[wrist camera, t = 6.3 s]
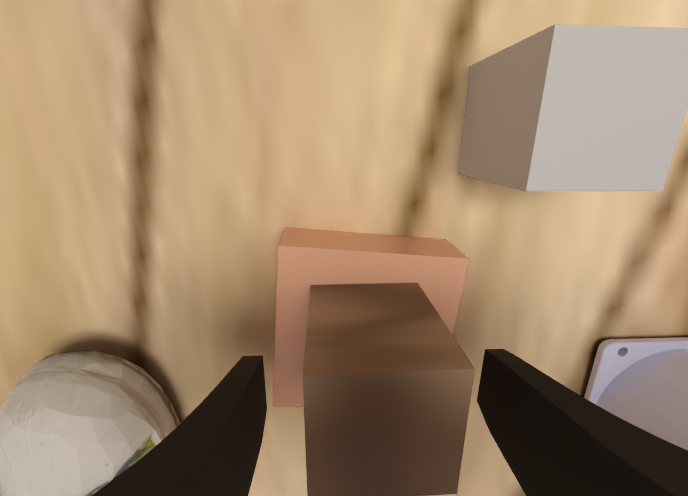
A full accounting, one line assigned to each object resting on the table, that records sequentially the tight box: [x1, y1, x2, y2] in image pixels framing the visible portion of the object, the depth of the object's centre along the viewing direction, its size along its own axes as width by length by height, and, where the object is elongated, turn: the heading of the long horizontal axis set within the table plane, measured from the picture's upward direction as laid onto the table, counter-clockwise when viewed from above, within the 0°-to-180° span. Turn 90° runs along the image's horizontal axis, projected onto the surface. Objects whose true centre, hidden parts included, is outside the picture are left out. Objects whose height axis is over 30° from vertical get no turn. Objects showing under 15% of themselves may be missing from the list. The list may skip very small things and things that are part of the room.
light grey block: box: [458, 24, 688, 191], centre depth 11 cm, size 4×4×5 cm
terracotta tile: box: [273, 228, 469, 407], centre depth 15 cm, size 7×7×3 cm
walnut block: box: [303, 283, 475, 496], centre depth 11 cm, size 4×4×5 cm
